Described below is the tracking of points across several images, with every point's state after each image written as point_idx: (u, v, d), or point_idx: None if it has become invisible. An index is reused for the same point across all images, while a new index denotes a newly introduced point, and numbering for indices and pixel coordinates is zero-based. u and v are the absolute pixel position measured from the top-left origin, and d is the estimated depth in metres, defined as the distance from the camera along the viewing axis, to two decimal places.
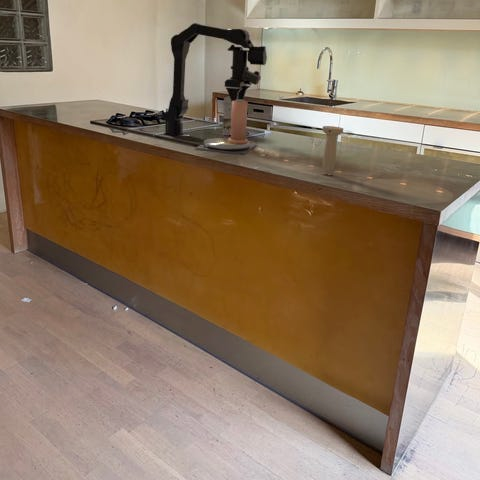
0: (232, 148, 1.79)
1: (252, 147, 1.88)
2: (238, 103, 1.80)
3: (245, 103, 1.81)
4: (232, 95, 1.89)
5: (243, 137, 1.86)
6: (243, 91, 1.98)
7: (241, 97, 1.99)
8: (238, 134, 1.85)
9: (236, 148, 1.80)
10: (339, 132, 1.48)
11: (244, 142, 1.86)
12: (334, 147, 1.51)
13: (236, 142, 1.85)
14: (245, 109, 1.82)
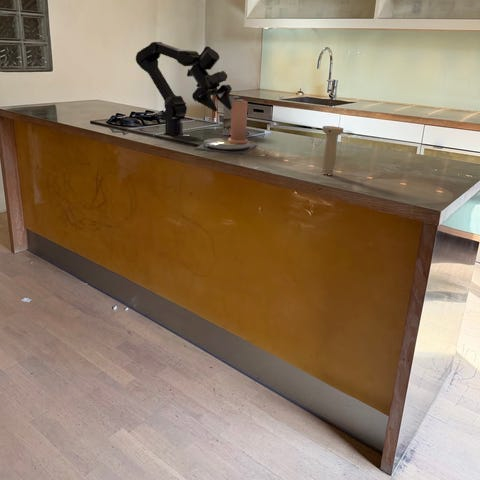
0: (232, 148, 1.79)
1: (252, 147, 1.88)
2: (238, 103, 1.80)
3: (245, 103, 1.81)
4: (208, 103, 1.85)
5: (243, 137, 1.86)
6: (226, 97, 1.92)
7: (227, 104, 1.92)
8: (238, 134, 1.85)
9: (236, 148, 1.80)
10: (339, 132, 1.48)
11: (244, 142, 1.86)
12: (334, 147, 1.51)
13: (236, 142, 1.85)
14: (245, 109, 1.82)
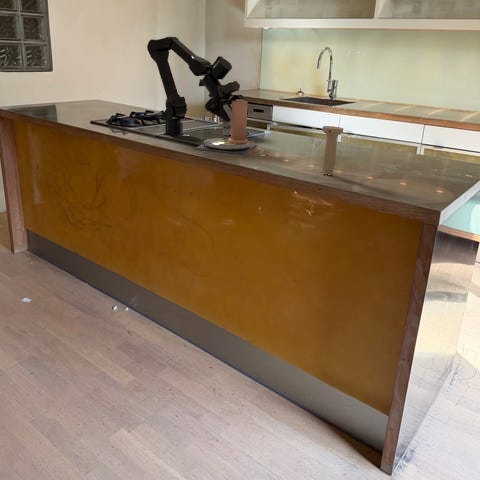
0: (232, 148, 1.79)
1: (252, 147, 1.88)
2: (238, 103, 1.80)
3: (245, 103, 1.81)
4: (221, 114, 1.83)
5: (243, 137, 1.86)
6: None
7: None
8: (238, 134, 1.85)
9: (236, 148, 1.80)
10: (339, 132, 1.48)
11: (244, 142, 1.86)
12: (334, 147, 1.51)
13: (236, 142, 1.85)
14: (245, 109, 1.82)
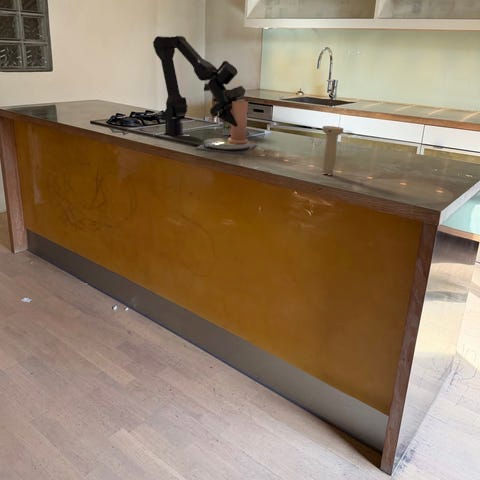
0: (232, 148, 1.79)
1: (252, 147, 1.88)
2: (238, 103, 1.81)
3: (245, 103, 1.81)
4: (228, 119, 1.83)
5: (243, 137, 1.86)
6: None
7: None
8: (238, 134, 1.85)
9: (236, 148, 1.80)
10: (339, 132, 1.48)
11: (244, 142, 1.86)
12: (334, 147, 1.51)
13: (236, 142, 1.85)
14: (245, 109, 1.82)
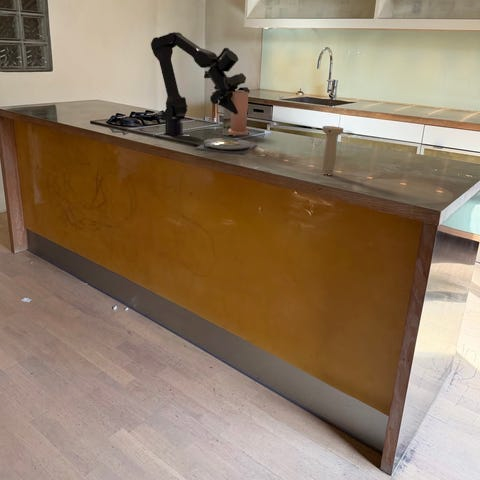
0: (232, 148, 1.79)
1: (252, 147, 1.88)
2: (239, 94, 1.79)
3: (246, 94, 1.80)
4: (228, 106, 1.81)
5: (243, 128, 1.85)
6: None
7: None
8: (238, 125, 1.83)
9: (236, 148, 1.80)
10: (339, 132, 1.48)
11: (244, 133, 1.85)
12: (334, 147, 1.51)
13: (236, 133, 1.84)
14: (246, 100, 1.81)
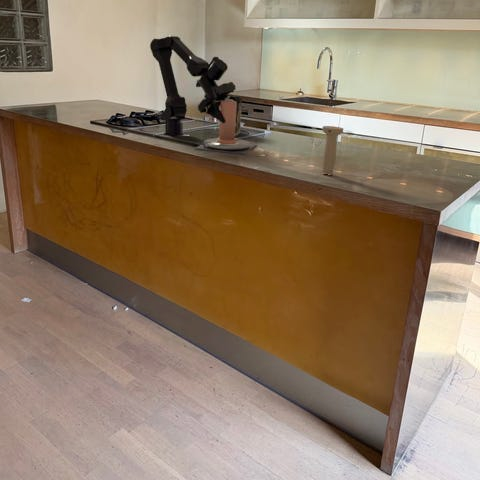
0: (232, 148, 1.79)
1: (252, 147, 1.88)
2: (226, 103, 1.79)
3: (233, 103, 1.79)
4: (216, 115, 1.81)
5: (231, 137, 1.84)
6: None
7: None
8: (226, 134, 1.83)
9: (236, 148, 1.80)
10: (339, 132, 1.48)
11: (232, 142, 1.84)
12: (334, 147, 1.51)
13: (223, 142, 1.84)
14: (233, 109, 1.80)
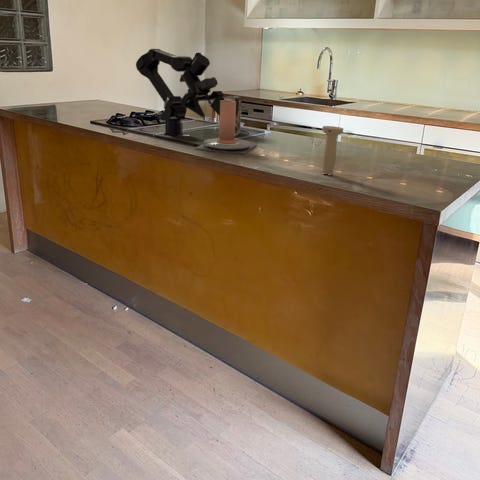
0: (232, 148, 1.79)
1: (252, 147, 1.88)
2: (225, 103, 1.79)
3: (232, 103, 1.79)
4: (196, 109, 1.86)
5: (231, 137, 1.84)
6: (217, 103, 1.93)
7: (217, 110, 1.92)
8: (225, 134, 1.83)
9: (236, 148, 1.80)
10: (339, 132, 1.48)
11: (232, 142, 1.84)
12: (334, 147, 1.51)
13: (223, 142, 1.84)
14: (233, 109, 1.80)
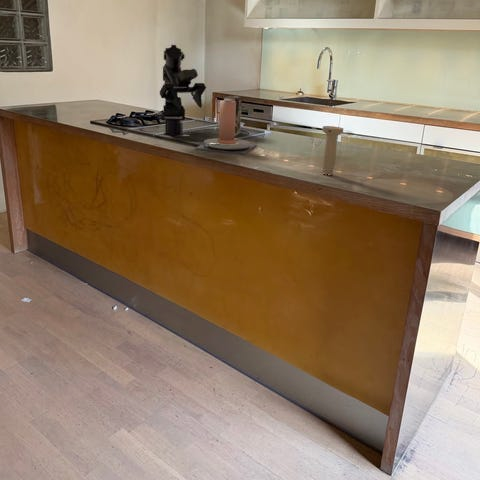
0: (232, 148, 1.79)
1: (252, 147, 1.88)
2: (225, 103, 1.79)
3: (232, 103, 1.79)
4: (174, 100, 1.86)
5: (231, 137, 1.84)
6: (198, 95, 1.92)
7: (198, 102, 1.92)
8: (225, 134, 1.83)
9: (236, 148, 1.80)
10: (339, 132, 1.48)
11: (232, 142, 1.84)
12: (334, 147, 1.50)
13: (223, 142, 1.84)
14: (233, 109, 1.80)
